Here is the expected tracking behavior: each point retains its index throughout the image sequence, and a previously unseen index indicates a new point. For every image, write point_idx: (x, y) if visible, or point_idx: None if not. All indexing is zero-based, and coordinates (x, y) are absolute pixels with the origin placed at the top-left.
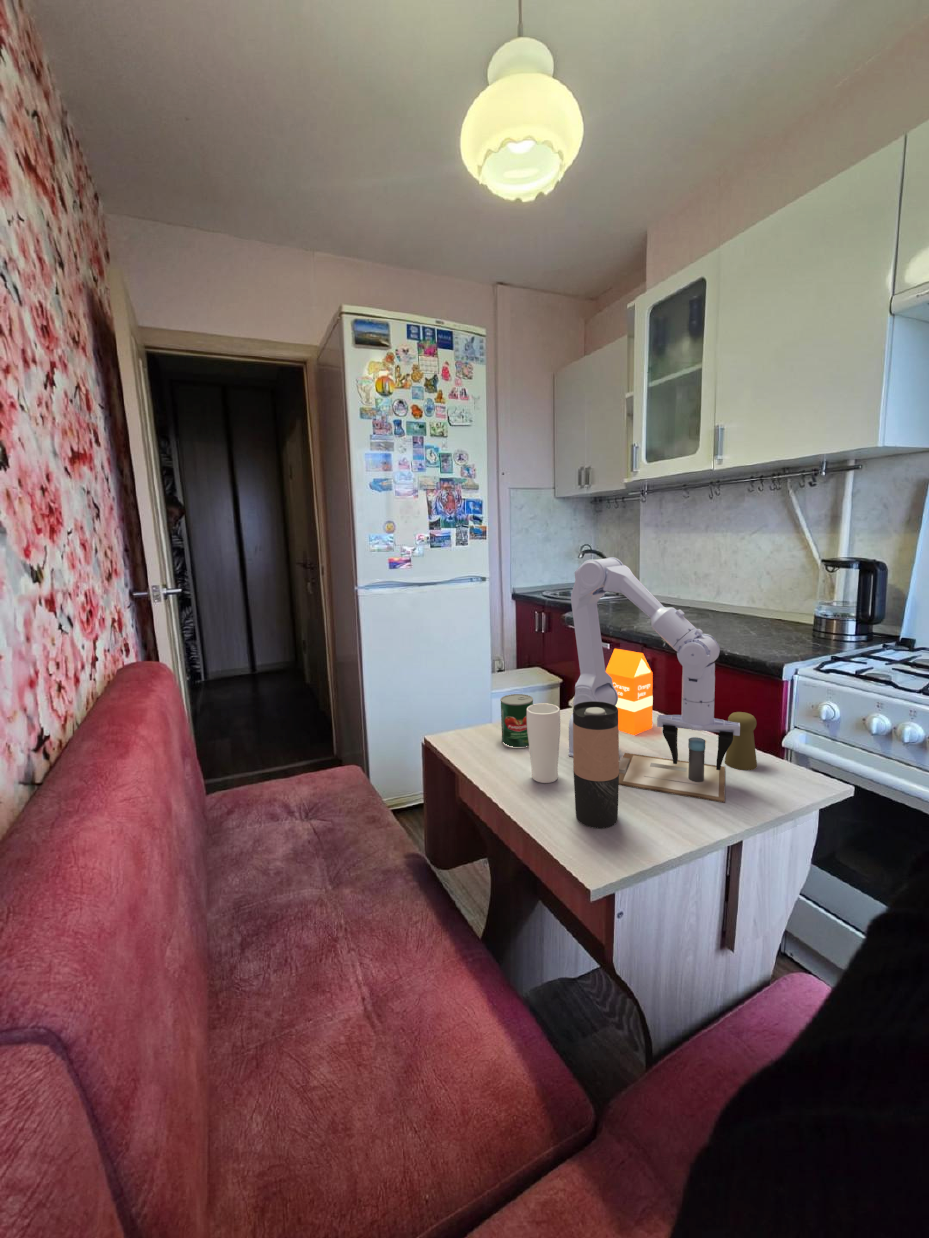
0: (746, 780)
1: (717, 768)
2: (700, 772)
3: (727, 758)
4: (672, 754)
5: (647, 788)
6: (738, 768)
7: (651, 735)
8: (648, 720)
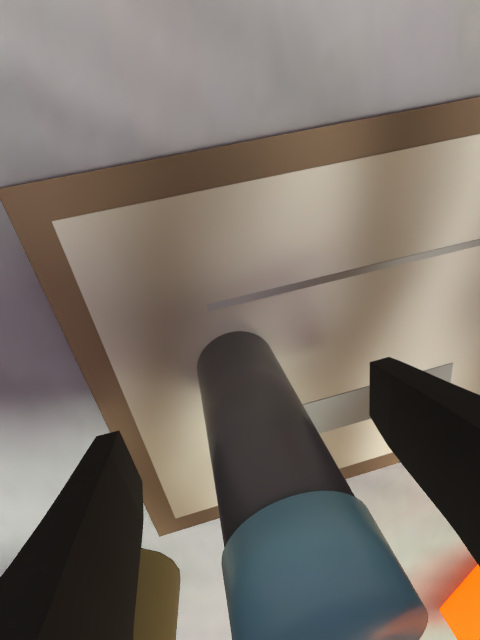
0: (35, 493)
1: (108, 438)
2: (215, 377)
3: (161, 588)
4: (452, 386)
5: (460, 101)
6: None
7: (440, 574)
8: (474, 635)
